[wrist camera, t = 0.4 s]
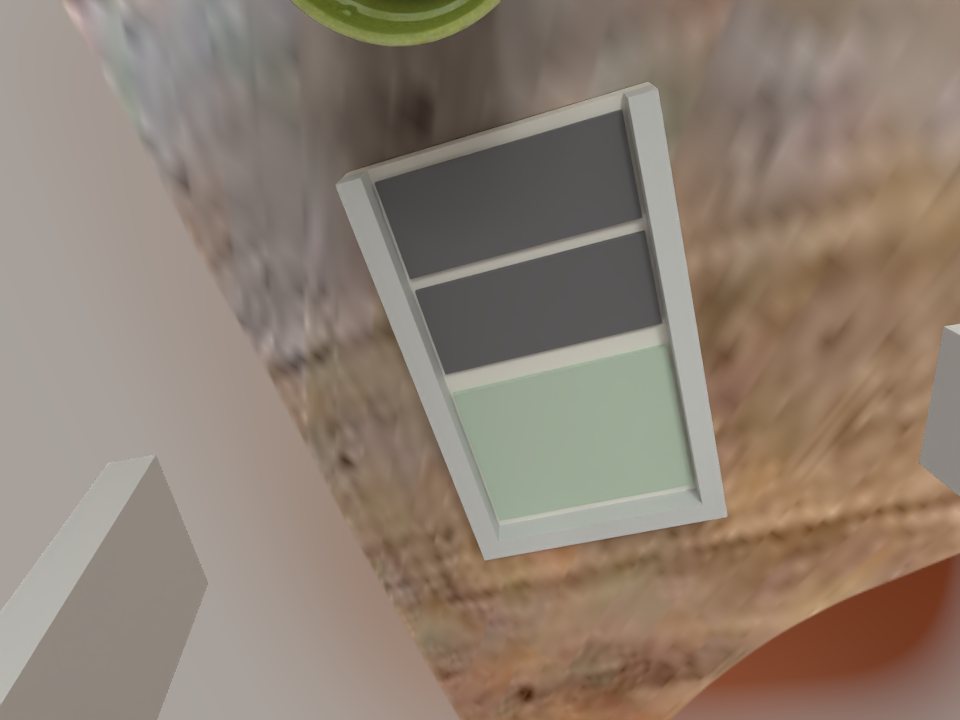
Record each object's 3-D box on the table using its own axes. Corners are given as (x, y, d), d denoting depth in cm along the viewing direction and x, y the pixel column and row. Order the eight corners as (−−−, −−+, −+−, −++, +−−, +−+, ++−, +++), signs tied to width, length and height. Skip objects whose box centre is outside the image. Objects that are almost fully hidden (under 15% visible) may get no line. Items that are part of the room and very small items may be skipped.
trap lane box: (347, 172, 31) (335, 185, 29) (648, 81, 29) (658, 88, 27) (486, 531, 42) (484, 560, 40) (716, 488, 39) (727, 516, 37)
